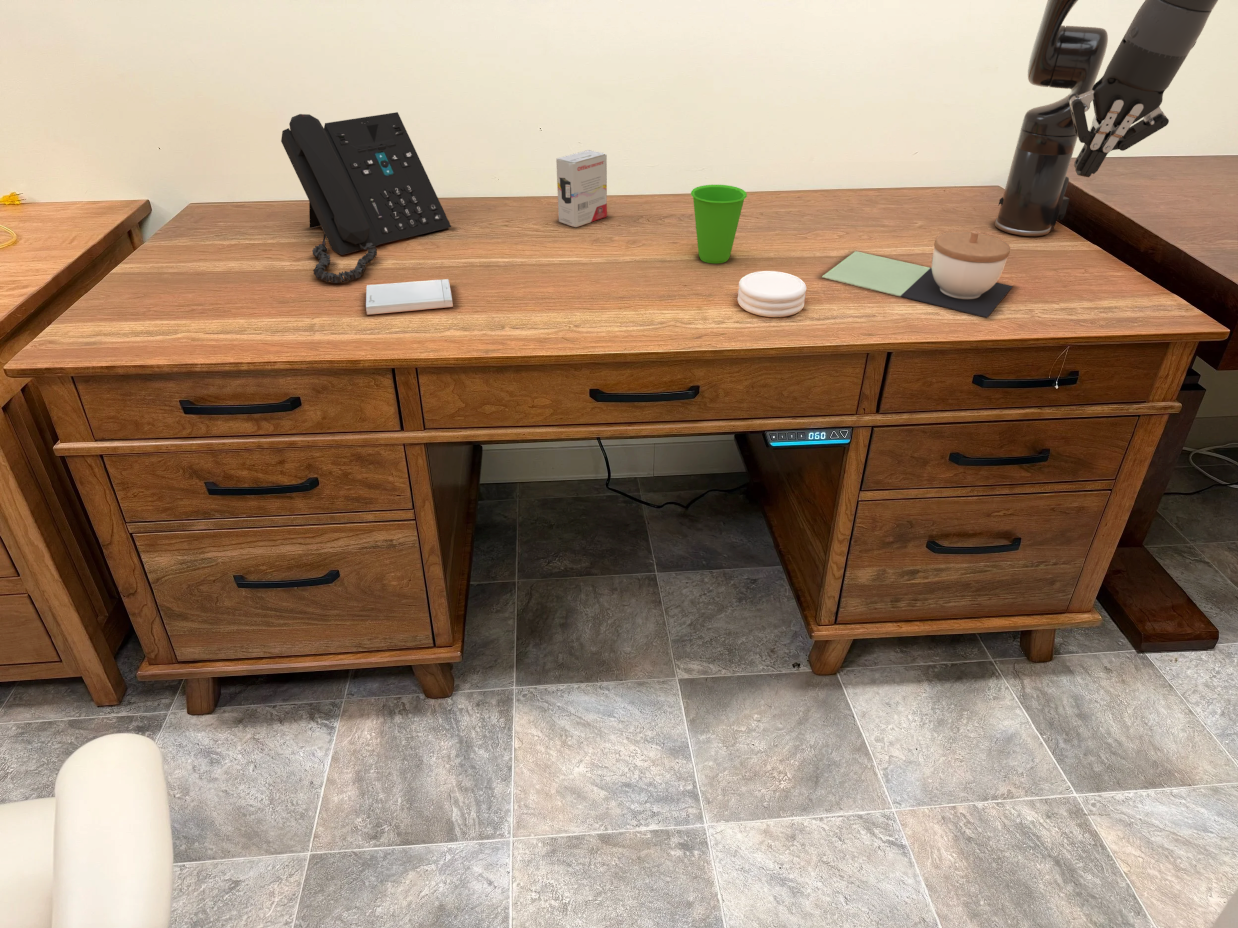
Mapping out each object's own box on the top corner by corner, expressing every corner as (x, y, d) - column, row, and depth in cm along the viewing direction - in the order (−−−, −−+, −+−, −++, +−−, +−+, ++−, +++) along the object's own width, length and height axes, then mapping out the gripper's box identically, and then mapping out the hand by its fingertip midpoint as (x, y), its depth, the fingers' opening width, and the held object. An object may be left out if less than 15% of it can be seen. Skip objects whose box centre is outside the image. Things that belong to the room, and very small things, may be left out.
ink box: (590, 211, 161) (589, 148, 154) (608, 217, 158) (608, 153, 152) (557, 222, 156) (555, 157, 149) (575, 228, 153) (573, 162, 146)
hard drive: (365, 306, 121) (452, 298, 123) (366, 284, 127) (448, 276, 130) (367, 316, 122) (453, 308, 124) (368, 294, 128) (449, 286, 131)
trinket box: (999, 285, 132) (1016, 226, 126) (994, 310, 124) (1011, 249, 118) (929, 273, 135) (942, 216, 130) (919, 298, 127) (933, 238, 122)
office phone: (328, 289, 130) (300, 155, 118) (256, 241, 147) (226, 120, 136) (486, 245, 146) (475, 124, 134) (404, 206, 163) (388, 96, 152)
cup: (738, 270, 137) (744, 203, 131) (683, 265, 138) (687, 199, 132) (743, 250, 144) (749, 186, 138) (690, 246, 146) (694, 183, 139)
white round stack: (731, 292, 129) (732, 270, 127) (794, 290, 130) (796, 268, 128) (744, 319, 121) (747, 297, 119) (811, 317, 122) (815, 295, 120)
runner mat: (1012, 287, 131) (1012, 286, 131) (987, 318, 122) (987, 316, 122) (855, 252, 144) (855, 251, 144) (821, 277, 134) (821, 276, 134)
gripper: (1201, 40, 104) (1121, 170, 116) (1096, 19, 104) (1028, 152, 116) (1222, 63, 98) (1137, 197, 111) (1112, 41, 99) (1039, 177, 111)
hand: (1081, 173), depth 114 cm, fingers closed
